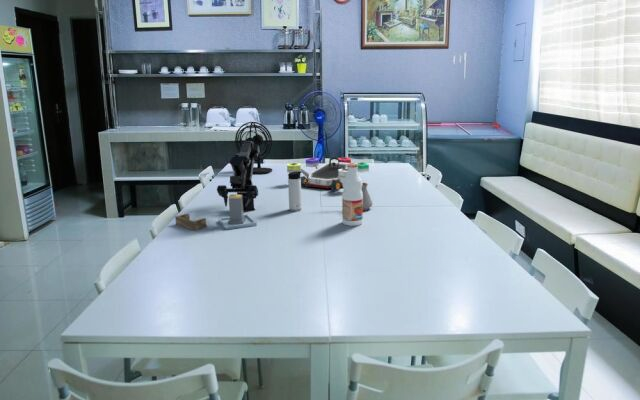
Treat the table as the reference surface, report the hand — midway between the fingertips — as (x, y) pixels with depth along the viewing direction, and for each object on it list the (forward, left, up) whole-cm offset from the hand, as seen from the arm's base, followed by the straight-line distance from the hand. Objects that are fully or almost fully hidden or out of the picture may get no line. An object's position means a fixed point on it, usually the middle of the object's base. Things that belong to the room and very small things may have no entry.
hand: (235, 206), depth 239 cm
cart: (-76, -56, -9) cm, 95 cm away
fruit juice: (-49, +23, -9) cm, 55 cm away
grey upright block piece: (-1, -1, -8) cm, 8 cm away
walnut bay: (+20, -8, -9) cm, 23 cm away
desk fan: (-44, -111, -9) cm, 120 cm away
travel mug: (-34, -10, -9) cm, 36 cm away
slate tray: (-1, -1, -9) cm, 9 cm away
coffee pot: (-61, 0, -9) cm, 61 cm away
